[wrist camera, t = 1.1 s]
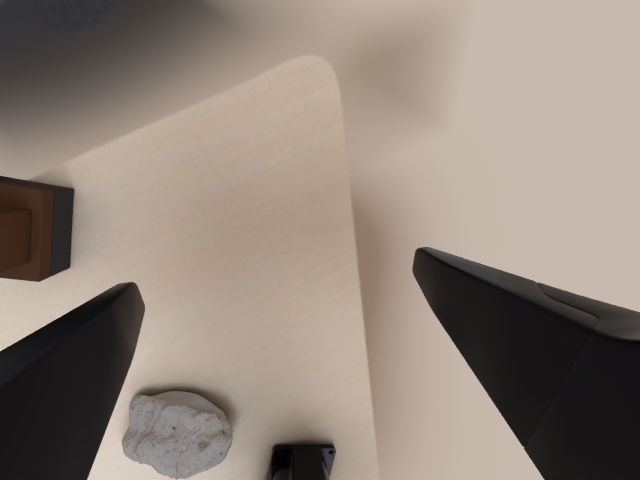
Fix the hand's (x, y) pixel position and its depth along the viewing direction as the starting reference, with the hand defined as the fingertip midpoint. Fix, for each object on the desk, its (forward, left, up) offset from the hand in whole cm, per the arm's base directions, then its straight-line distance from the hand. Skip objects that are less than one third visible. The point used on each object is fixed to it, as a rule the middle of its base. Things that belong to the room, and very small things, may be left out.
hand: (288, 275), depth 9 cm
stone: (-20, +5, -15) cm, 26 cm away
